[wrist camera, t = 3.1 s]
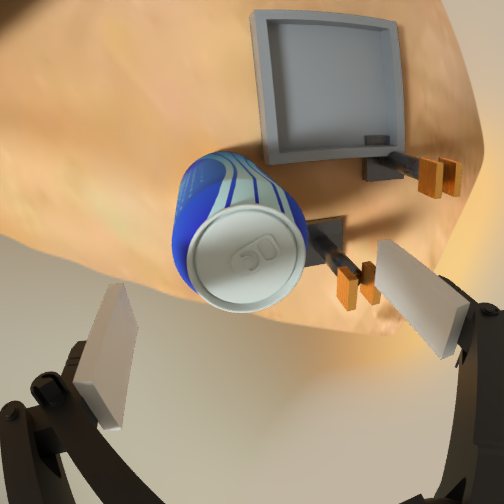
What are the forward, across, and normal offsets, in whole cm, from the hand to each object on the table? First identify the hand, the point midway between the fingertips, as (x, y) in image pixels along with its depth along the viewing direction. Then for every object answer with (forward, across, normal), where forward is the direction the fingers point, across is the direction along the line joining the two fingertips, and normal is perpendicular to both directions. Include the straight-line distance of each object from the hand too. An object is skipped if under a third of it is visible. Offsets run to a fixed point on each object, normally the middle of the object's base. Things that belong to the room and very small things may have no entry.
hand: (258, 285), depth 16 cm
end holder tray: (+18, +12, +10) cm, 24 cm away
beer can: (+18, 0, 0) cm, 18 cm away
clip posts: (+18, +14, -2) cm, 23 cm away
